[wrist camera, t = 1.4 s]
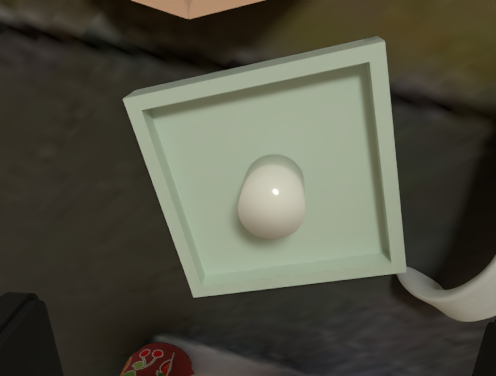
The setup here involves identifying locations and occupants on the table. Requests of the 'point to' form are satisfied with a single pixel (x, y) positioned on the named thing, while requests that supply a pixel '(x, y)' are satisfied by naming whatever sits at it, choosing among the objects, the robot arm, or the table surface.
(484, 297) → the spoon rest
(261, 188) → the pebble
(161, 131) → the tray
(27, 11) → the table surface
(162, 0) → the bowl
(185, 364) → the smoothie
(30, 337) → the robot arm
